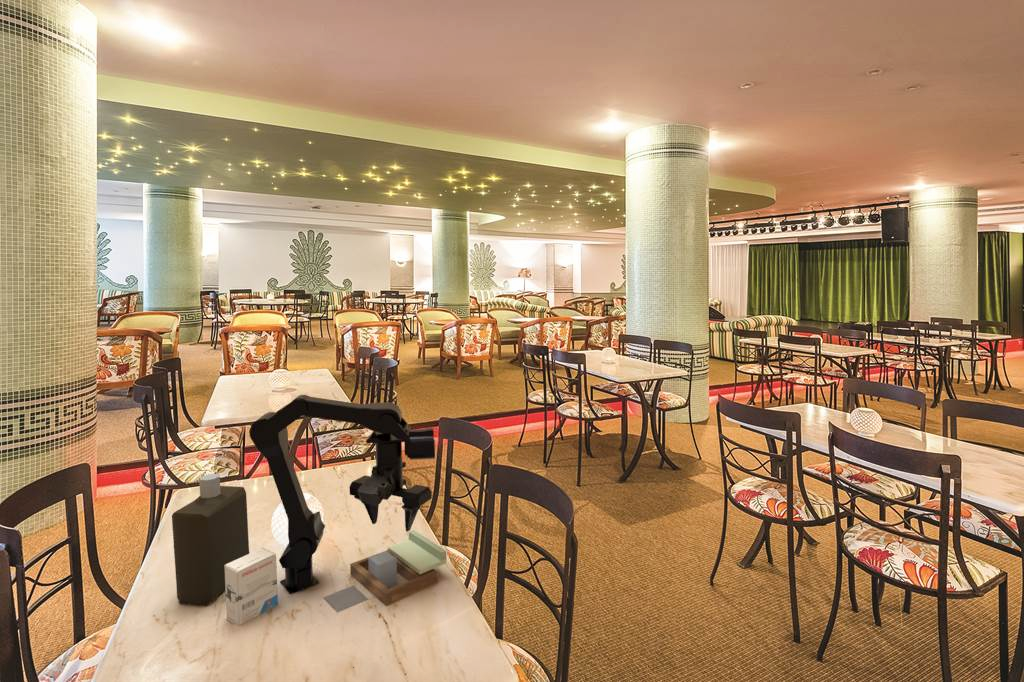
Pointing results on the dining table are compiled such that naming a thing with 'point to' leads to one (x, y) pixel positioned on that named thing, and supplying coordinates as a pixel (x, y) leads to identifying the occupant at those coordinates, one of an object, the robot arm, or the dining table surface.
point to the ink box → (251, 585)
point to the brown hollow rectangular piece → (396, 593)
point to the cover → (419, 553)
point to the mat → (345, 598)
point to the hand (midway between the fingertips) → (391, 527)
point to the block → (384, 568)
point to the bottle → (208, 540)
